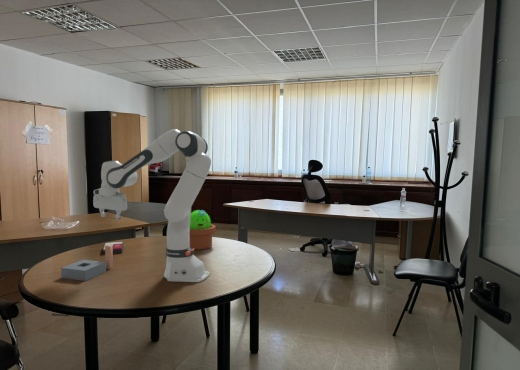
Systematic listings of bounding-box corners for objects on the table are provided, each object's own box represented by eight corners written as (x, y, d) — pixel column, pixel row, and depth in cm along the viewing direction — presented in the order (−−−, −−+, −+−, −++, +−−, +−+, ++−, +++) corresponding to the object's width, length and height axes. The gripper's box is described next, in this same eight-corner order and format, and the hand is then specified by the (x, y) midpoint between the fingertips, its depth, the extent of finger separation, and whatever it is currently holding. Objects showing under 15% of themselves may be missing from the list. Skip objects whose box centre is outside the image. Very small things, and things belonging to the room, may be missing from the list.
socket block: (105, 271, 175) (105, 262, 174) (85, 280, 161) (85, 270, 161) (83, 268, 178) (83, 259, 178) (61, 277, 165) (61, 267, 165)
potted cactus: (180, 243, 234) (180, 207, 232) (212, 241, 240) (212, 206, 238) (183, 251, 213) (183, 212, 211) (218, 249, 219) (218, 211, 217)
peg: (114, 267, 181) (113, 245, 180) (109, 269, 178) (109, 247, 177) (108, 266, 182) (108, 244, 181) (104, 268, 179) (103, 246, 178)
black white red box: (102, 249, 204) (104, 242, 218) (102, 256, 205) (104, 248, 219) (122, 247, 208) (123, 240, 222) (122, 254, 209) (123, 247, 223)
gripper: (130, 192, 176) (130, 218, 177) (100, 189, 184) (100, 215, 185) (121, 193, 170) (120, 220, 172) (91, 190, 178) (90, 216, 179)
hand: (110, 217), depth 178 cm, fingers open, 8 cm apart
